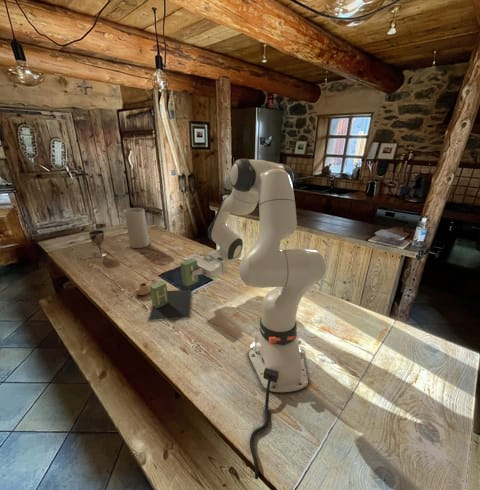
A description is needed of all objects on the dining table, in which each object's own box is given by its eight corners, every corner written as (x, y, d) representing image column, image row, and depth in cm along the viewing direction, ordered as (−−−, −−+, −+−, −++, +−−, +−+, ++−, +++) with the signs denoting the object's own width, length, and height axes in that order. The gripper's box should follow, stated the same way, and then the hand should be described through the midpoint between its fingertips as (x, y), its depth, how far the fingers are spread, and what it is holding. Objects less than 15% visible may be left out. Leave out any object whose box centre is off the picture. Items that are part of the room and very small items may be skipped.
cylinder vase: (145, 248, 179) (140, 212, 169) (127, 248, 180) (120, 212, 169) (151, 242, 191) (146, 207, 181) (134, 242, 191) (128, 207, 181)
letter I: (198, 281, 116) (197, 260, 112) (187, 286, 112) (185, 265, 108) (193, 278, 118) (191, 258, 114) (182, 283, 114) (180, 262, 110)
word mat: (188, 318, 111) (188, 316, 111) (149, 321, 109) (149, 319, 109) (191, 290, 131) (191, 289, 130) (157, 292, 129) (157, 291, 129)
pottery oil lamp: (163, 287, 133) (161, 279, 127) (144, 304, 126) (141, 296, 121) (150, 277, 135) (148, 269, 130) (131, 293, 129) (128, 286, 123)
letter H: (168, 303, 120) (166, 283, 116) (157, 308, 116) (154, 288, 112) (164, 299, 122) (161, 280, 118) (152, 305, 118) (149, 285, 114)
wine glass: (110, 254, 171) (106, 231, 165) (99, 258, 165) (93, 235, 159) (103, 251, 175) (98, 229, 169) (91, 255, 169) (86, 233, 163)
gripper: (197, 249, 127) (173, 257, 118) (227, 261, 114) (202, 272, 105) (198, 261, 129) (174, 270, 120) (228, 274, 117) (203, 286, 107)
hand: (188, 271), depth 112 cm, fingers closed on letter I, 4 cm apart
